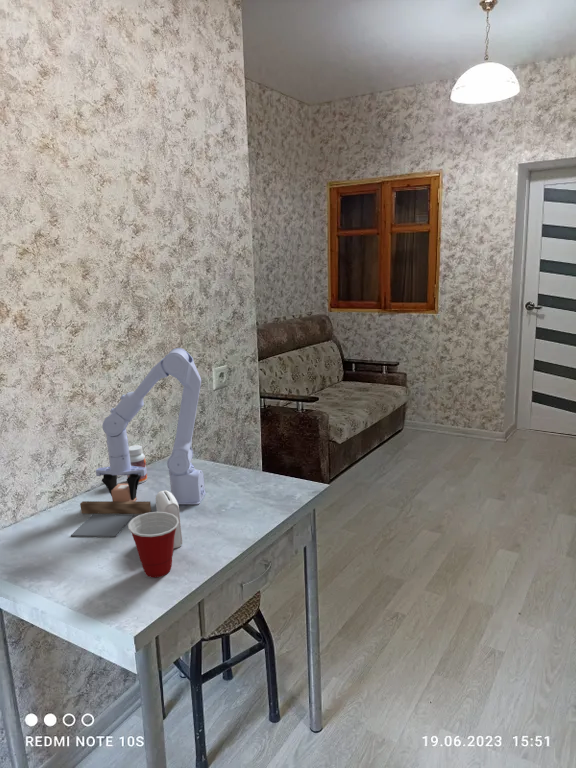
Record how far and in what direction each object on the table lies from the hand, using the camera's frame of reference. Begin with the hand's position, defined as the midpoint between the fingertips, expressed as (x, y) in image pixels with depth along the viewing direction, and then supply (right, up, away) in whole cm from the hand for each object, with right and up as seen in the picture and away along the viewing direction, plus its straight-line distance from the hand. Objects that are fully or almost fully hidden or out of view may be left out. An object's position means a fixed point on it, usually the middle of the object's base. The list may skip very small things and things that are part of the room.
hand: (124, 498), depth 157 cm
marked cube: (0, -1, 0) cm, 1 cm away
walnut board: (-1, -3, -6) cm, 6 cm away
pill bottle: (-1, +2, +17) cm, 17 cm away
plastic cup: (+19, -9, -36) cm, 42 cm away
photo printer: (+18, -6, -23) cm, 30 cm away
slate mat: (-2, -4, -13) cm, 14 cm away
